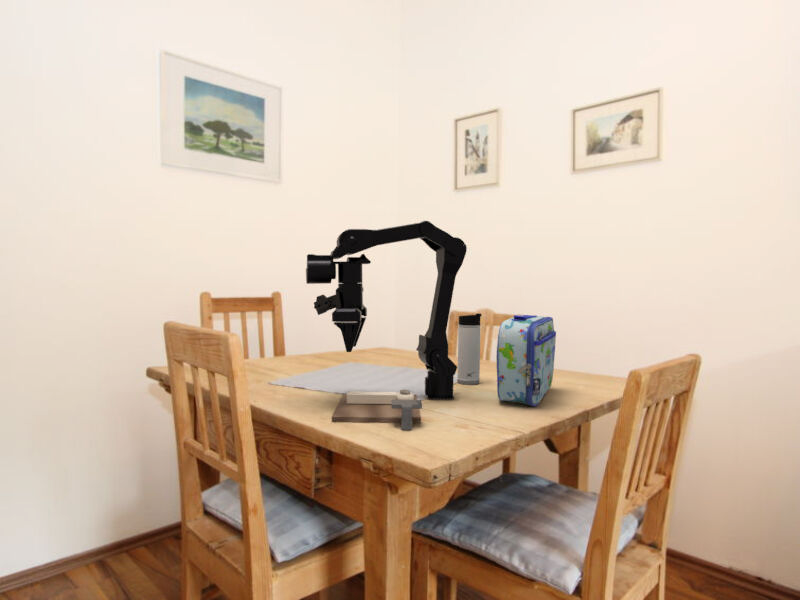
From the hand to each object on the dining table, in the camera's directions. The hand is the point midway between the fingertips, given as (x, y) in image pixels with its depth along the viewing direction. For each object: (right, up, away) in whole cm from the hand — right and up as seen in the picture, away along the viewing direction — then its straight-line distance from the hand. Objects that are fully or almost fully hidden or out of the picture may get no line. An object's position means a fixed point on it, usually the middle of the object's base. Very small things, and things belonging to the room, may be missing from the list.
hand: (351, 349), depth 117 cm
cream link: (+7, -11, -5) cm, 15 cm away
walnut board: (+7, -13, -7) cm, 16 cm away
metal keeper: (+13, -13, -19) cm, 26 cm away
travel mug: (+31, -12, +24) cm, 41 cm away
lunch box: (+43, -13, +7) cm, 46 cm away
